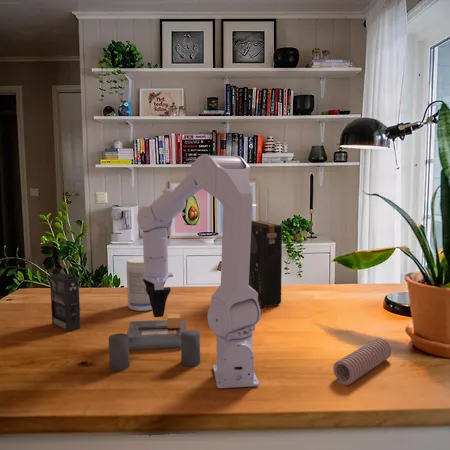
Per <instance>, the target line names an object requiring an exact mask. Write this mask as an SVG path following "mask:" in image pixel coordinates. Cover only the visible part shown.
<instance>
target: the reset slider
mask: <svg viewBox="0 0 450 450" xmlns="http://www.w3.org/2000/svg"><path fill="white" fill-rule="evenodd" d="M166 318H167V319H166V320H168V328H180V319H181V313H170V314H169V313H168V314H167V317H166Z"/></svg>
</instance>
